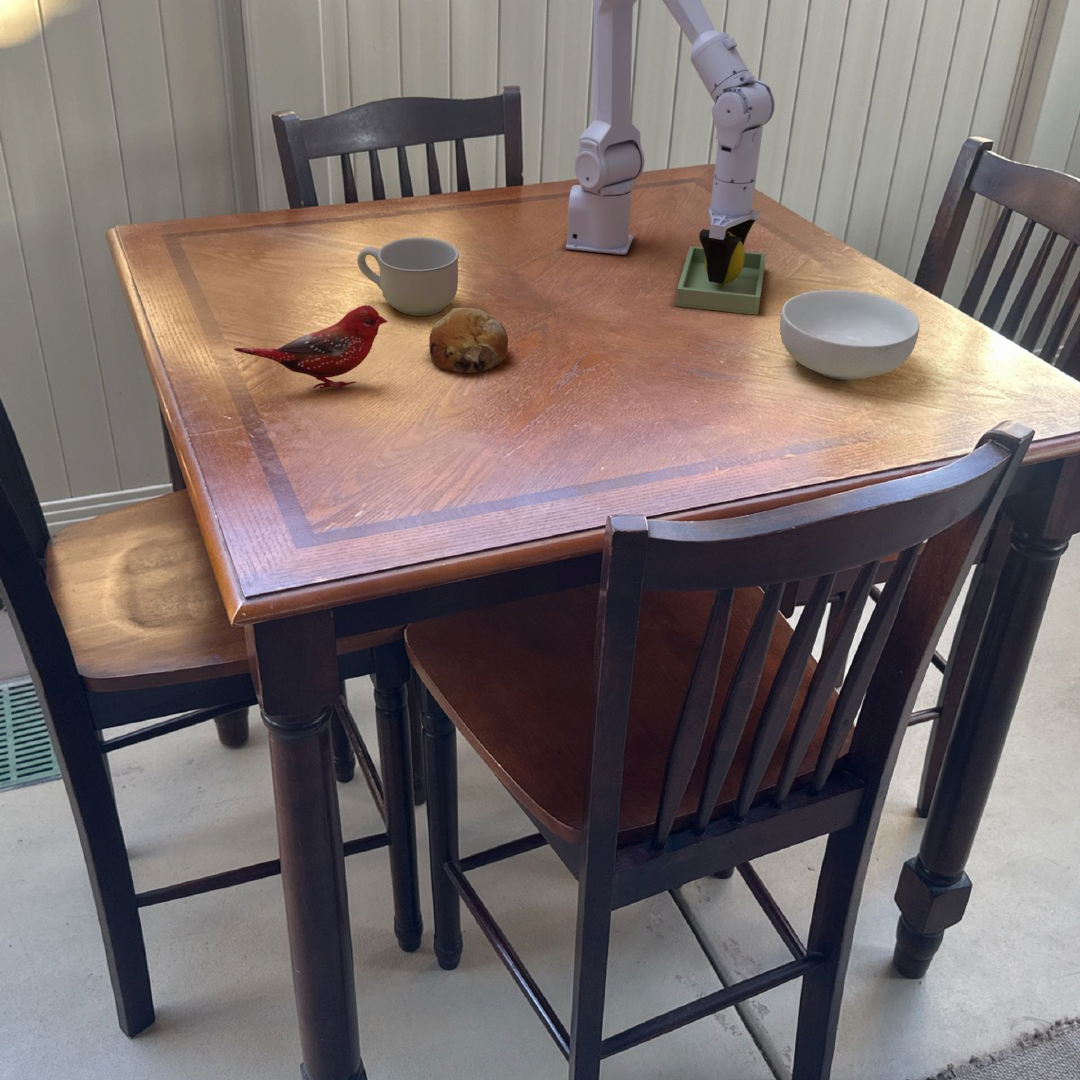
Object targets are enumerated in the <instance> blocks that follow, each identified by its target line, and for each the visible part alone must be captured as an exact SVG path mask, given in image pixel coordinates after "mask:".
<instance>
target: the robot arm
mask: <svg viewBox="0 0 1080 1080" xmlns="http://www.w3.org/2000/svg"><path fill="white" fill-rule="evenodd" d="M637 1H638V0H593V36H592V37H593V41H592V45H593V47H592V48H593V49H592V54H593V56H592V57H593V58H592V122H591V123H590V124H589V126H588V127H587V128H586V129H585V130H584V132H583V133H582V134H581V135H580V137H579V139H578V149H577V154H576V156H575V159H574V174H575V177H576V179H577V182H578V183H579V184H574V185H572V186H571V189H570V191H569V193H570V194H569V198H568V208H567V225H566V226H567V230H566V244H565V249H566V250H574V251H581V252H582V251H583V252H593V253H601V254H602V253H603V254H611V255H621V256H625V255H627V254H628V251H629V249H630V247H631V244H632V242H633V240H634V236H633V235H632V234H629V231H630V218H631V203H632V189H633V188H634V187H635V186H636V180H637V179H638V178H640V176H642V174H643V172H644V168H645V154H644V151H643V149H642V143H641V131H640V130H639V129H638V128H637V127H636V125H634V124H633V123H632V122H631V102H632V101H631V99H632V96H631V95H632V93H631V92H632V57H633V56H632V55H633V52H632V51H633V18H634V17H633V16H634V13H633V12H634V11H633V10H634V5H635V3H636V2H637ZM662 2H663V4H664V5H665V6H666V8H667V9H668V11H669V12H670V14H671V15H672V17H673V19H674V21H676V23H677V24H678V26H679V27H680V29H681V30H682V32H683V33H684V35H685V37H686V38H687V40H688V41H689V43H690V45H691V46H692V47H691V53H690V57H689V58H690V62H691V64H692V66H693V67H694V70H695V71H696V73H697V75H698V76H699V78H700V80H701V82H702V83H703V85H704V87H705V89H706V90H707V92H708V94H709V96H710V97H711V99H712V101H713V103H714V104H715V105H712V106H711V116H712V117H711V118H712V120H713V124H714V125H715V128H716V135H715V140H717V141H716V143H717V146H716V154H715V162H714V163H715V165H714V172H713V179H712V180H713V181H712V189H711V198H710V205H709V207H708V211H707V212H708V213H707V214H708V217H709V221H710V226H709V229H706V228H702V229H701V231H700V232H699V235H698V238H699V242H700V244H701V247H703V249H704V252H705V257H706V264H707V273H708V280H709V282H715V283H721V284H723V282H724V280H725V278H726V275H727V272H728V268H729V265H730V261H731V258H732V255H733V253H734V250H735V248H736V247H737V245H738V243H739V242H740V241H741V242H742V244H743V247H744V246H745V242H746V240H747V237H748V235H749V232H750V231H751V229H752V227H753V225H754V224H755V222H756V221H757V220H758V219H759V218H760V216H761V212H760V211H759V210H754V209H753V204H754V197H755V196H754V195H755V188H756V183H757V182H756V181H757V175H758V167H759V159H760V153H761V146H762V137H763V130H764V126H765V125H767V124H768V123H769V122H770V120H771V119H772V118H773V116H774V112H775V106H776V102H775V97H774V94H773V92H772V89H771V87H770V85H768V83H766V82H764V81H763V80H759V79H757V78H756V76H755V75H753V73H752V72H751V71H750V70H749V69H748V66H747V65H746V64H745V62H744V60H743V58H742V56H741V54H740V53H739V51H738V49H737V47H738V43H737V41H736V40H735V38H734V37H730V35H729V33H727V32H723V31H719V30H716V29H715V27H714V24H713V23H712V20H711V18H710V15H708V11H707V10H706V8H705V5H704V3H703V1H702V0H662ZM728 232H730V233H731V234H733V235H735V236H736V237H735V236H730V233H728Z"/></svg>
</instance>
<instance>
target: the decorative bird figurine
mask: <svg viewBox="0 0 1080 1080" xmlns="http://www.w3.org/2000/svg"><path fill="white" fill-rule="evenodd" d="M385 323H388V320H387V319H385V318H384V317H382V316H381V315H380V314H379V312H378V311H377V310H376V309H375V307H373V306H372V305H367V304H365V305H364V304H363V305H361V306H358V307H356V308H354V309H352V310H351V311H349V312H347V313H346V314H345V315H344V316H343V317H342V318H341V319H340V320H339V321H338V322H337V323H335V324H333V325H330V326H328V327H326V328H323V329H319V330H317V331H314V332H311V333H308V334H305V335H303V336H300V337H298V338H295V339H294V340H292V341H290V342H288V343H286V344H284V345H283V346H281V347H279V348H257V347H256V348H254V347H235V348H234V349H233V350H234V351H236V352H239V353H243V354H247V355H251V356H257V357H259V358H260V357H261V358H266V359H268V360H272V361H274V362H276V363H279V364H280V365H282V366H283V367H284V368H286V369H288V370H289V371H291V372H293V373H298V374H304V375H307V376H310V377H313V378H315V379H316V380H318V381H320V383H317V384H315V385H314V386H313V387H312V388H313V389H315V388H317V387H319V389H326V388H327V389H328V388H335V389H339V388H343V387H345V386H347V385H351V384H357V383H358V382H357V381H349V382H347V381H346V382H345V381H341V380H340V381H334V380H331V379H330V378H335V377H338V376H342V375H345V374H347V373H349V372H351V371H352V370H354V369H355V368H357V367H358V366H360V364H362V363H363V362H364V360H365V359H366V358H367V357H368V355H369V354H370V352H371V350H372V347H373V345H374V342H375V340H376V339H375V338H376V337H377V335H378V333H379V327H380V326H381V325H383V324H385ZM328 378H329V379H328Z"/></svg>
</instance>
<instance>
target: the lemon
mask: <svg viewBox="0 0 1080 1080" xmlns="http://www.w3.org/2000/svg"><path fill="white" fill-rule="evenodd" d="M728 233H730V232H728ZM730 236H735V235H733V234H731V233H730ZM735 237H736V236H735ZM744 251H745V248H744V246H743V244H742V242H741V241H740V242H739V243H738V245H737V247H736V248H735V250H734V253H733V255H732V258H731V261H730V265H729V268H728V272H727V275H726V278H725V280H724V282H723V284H721V283H718V285H719V286H724V285H725V284H726V283H729V282H732V281H733V280H735V279H736V278H737V277H738V276H739V274H740V273H741V271H742V268H743V265H744ZM705 269H706V272H707V264H706V257H705ZM707 274H708V273H707Z"/></svg>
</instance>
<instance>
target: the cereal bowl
mask: <svg viewBox="0 0 1080 1080" xmlns="http://www.w3.org/2000/svg"><path fill="white" fill-rule="evenodd" d="M779 322H780V323H779V330H780V331H779V332H780V333H779V334H780V338H781V342H782V344H783V345H784V349H785V350H786V351H787V353H788V354H789V355H790V356H791V357H792V358H793V359H794V361H797V363H799V364H801V365H802V366H804V367H806V368H808V369H809V370H812V371H814V372H816V373H817V374H819V375H821V376H824V377H826V378H830V379H834V380H837V381H858V380H863V379H867V378H868V379H869V378H874V377H878V376H882V375H884V374H885V375H886V374H889V373H891V372H892V371H895V370H896V369H897V368H899V367H901V365H903V364H904V363H905V362H906V361H907V360H908V359H909V357H910V356H911V354H912V353H913V351H914V349H915V346H916V344H917V340H918V337H919V333H920V320H919V318H918V317H917V315H916V314H915V313H914V311H912V310H911V309H910V308H908V307H907V306H905V305H903V304H901V303H900V302H897V301H895V300H893V299H890V298H887V297H885V296H882V295H878V294H874V293H869V292H863V291H857V290H849V289H848V290H847V289H820V290H812V291H807V292H803V293H800V294H798V295H795V296H793V297H791V298H789V299H788V300H787V301H786V302H785V303H784V304H783V306H782V310H781V313H780V321H779Z"/></svg>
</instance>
